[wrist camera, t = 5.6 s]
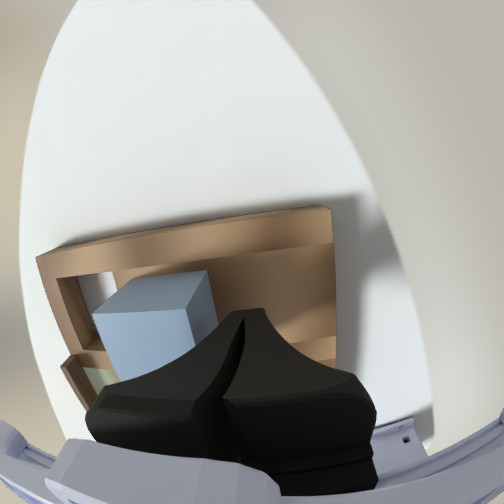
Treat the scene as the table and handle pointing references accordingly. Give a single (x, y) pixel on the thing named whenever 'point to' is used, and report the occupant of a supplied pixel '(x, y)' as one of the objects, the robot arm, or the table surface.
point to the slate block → (155, 321)
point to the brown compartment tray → (220, 277)
